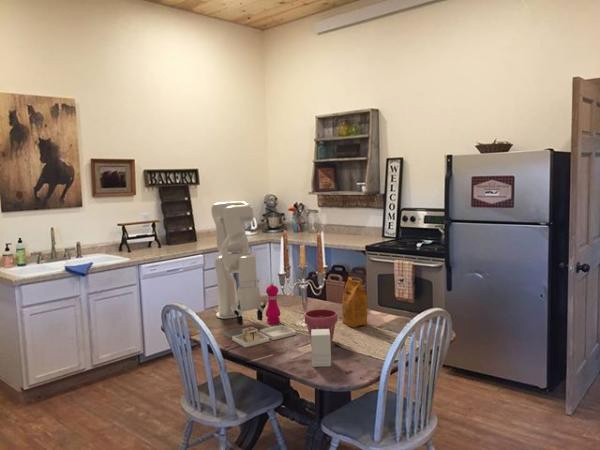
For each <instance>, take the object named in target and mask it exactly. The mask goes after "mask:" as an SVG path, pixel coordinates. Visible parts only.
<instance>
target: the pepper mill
mask: <svg viewBox="0 0 600 450" xmlns="http://www.w3.org/2000/svg"><path fill="white" fill-rule="evenodd" d="M265 293H266V296H267V297H266V298H267V303H268V305H267V307H266V309H265V317H266V318H267V319H266V322H267V323H268V324H272V325H277V324H279V323H280V322H281V320H280V319H281V318H280V316H281V310H280V307H279V305H278V302H277V301H278V293H279V288H278V287H277V286H276V285H275V284H274V282H270V283H269V285H268V286H267V287H266V289H265Z"/></svg>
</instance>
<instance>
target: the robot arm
mask: <svg viewBox="0 0 600 450" xmlns="http://www.w3.org/2000/svg"><path fill="white" fill-rule="evenodd" d="M210 212H211V217H212V219H213V222H214V224H215V231H216V232H215V233H216V236H215V237H216V248H217V250H218V252H219V253H220V254H221V255H219V256H217V257H216V258H215V259H214V269H215V273H216V280H217V281H216V282H217V283H216V284H217V299H218V300H217V301H218V307H217V308H218V311H217V312H216V313H215V316H216V318H218V319H223V320H224V319H225V320H226V319H235V318H236V321H237V325H239V326H243V323H244V322H243V315H242V314H243V313H244V312H248V311H253V310H256V309H257V311H256V317H257V318H256V319H257V321H260V322H262V321H263V312H264V310H265V308H267V307H266V306H267V303H268V299H267V300H266V299H264V298H261V297H262V296H261V292H260V288H259V285H258V283H260V279H258V277H257V260H256V259H257V258H256V256H255V255H254V253H252V252H249V250H250V249H249V248H250V247H249V238H248V236H247V235H246V234H247V232H246V229H245V224H244V223H252V222H253V220H254V215H255V214H254V210H253V208H252V207H251V205H250V204H249V203H248V202H246V201H243V200H239V201H222V202H216V203H213V204H212V206H211V211H210ZM237 252H238V253H237ZM235 273H237V274H238V276H239V277H238V278H239V279H238V280H239V281H238V282H239V287H237V281H236V278H234V276H232V275H231V274H235Z"/></svg>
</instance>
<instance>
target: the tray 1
mask: <svg viewBox="0 0 600 450" xmlns="http://www.w3.org/2000/svg"><path fill="white" fill-rule="evenodd" d="M231 340H232V341H233V342H235V343H237V344H239V345H240V346H242V347H244V348H249V347H251V346H257V345H259V344H264V343H267V342H270V338H269V337H267V336H265V335H263V334H261V333H260V331H258V340H256V341H252V342H248V343H247V342H245V341H244V340H243V334H240V335H236V336H232V338H231Z"/></svg>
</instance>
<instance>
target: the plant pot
mask: <svg viewBox="0 0 600 450" xmlns="http://www.w3.org/2000/svg"><path fill="white" fill-rule="evenodd" d="M304 323H305V325H306V326H307V330H308V335H309V339H310V340H311V329H329V331H330V344H332V343H333V340H334V339H333V338H334V335H335V327H336V324H337V323H338V312H337V311H336V310H334V309H330V308H329V309H327V308H326V309H325V308H316V309H311V310H307V311H306V312H305V313H304Z"/></svg>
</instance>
